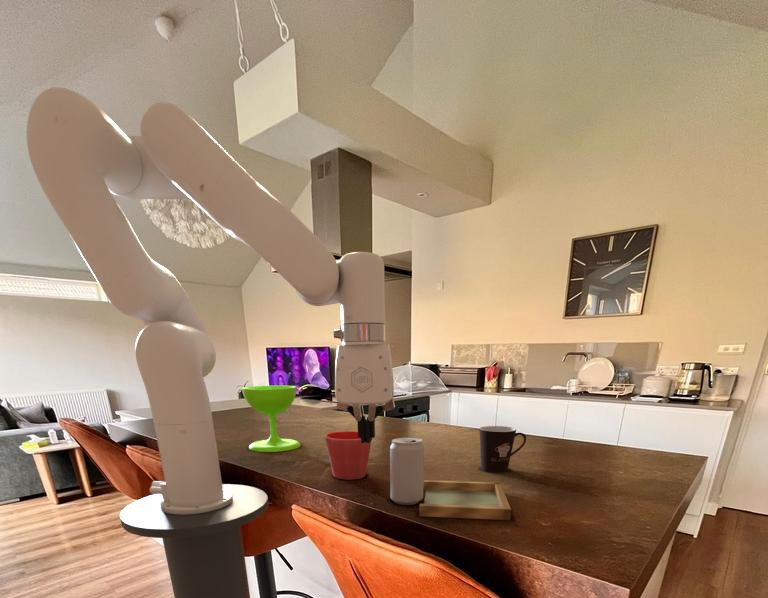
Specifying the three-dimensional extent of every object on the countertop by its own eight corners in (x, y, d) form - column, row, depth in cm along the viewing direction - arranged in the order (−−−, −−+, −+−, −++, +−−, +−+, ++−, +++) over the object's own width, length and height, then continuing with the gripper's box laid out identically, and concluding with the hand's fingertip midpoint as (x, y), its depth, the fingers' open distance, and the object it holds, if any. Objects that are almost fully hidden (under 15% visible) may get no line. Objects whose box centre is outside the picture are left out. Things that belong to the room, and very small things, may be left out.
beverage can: (406, 508, 78) (407, 444, 74) (383, 500, 82) (382, 439, 78) (429, 501, 82) (431, 439, 78) (406, 493, 86) (407, 435, 82)
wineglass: (302, 450, 128) (298, 388, 121) (247, 453, 124) (240, 389, 117) (298, 440, 142) (294, 385, 136) (249, 443, 138) (242, 386, 132)
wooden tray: (419, 516, 74) (419, 505, 74) (424, 489, 89) (424, 480, 89) (510, 520, 72) (511, 509, 71) (499, 491, 87) (500, 482, 87)
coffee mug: (476, 472, 101) (480, 431, 98) (476, 464, 109) (478, 425, 106) (527, 474, 100) (532, 432, 96) (522, 466, 107) (527, 426, 104)
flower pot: (381, 473, 102) (381, 433, 98) (353, 484, 93) (352, 440, 90) (346, 467, 107) (345, 429, 104) (317, 477, 98) (315, 436, 95)
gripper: (315, 336, 70) (322, 445, 77) (404, 334, 68) (404, 446, 75) (327, 338, 77) (333, 437, 84) (408, 336, 75) (407, 438, 82)
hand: (366, 441), depth 79 cm, fingers closed
